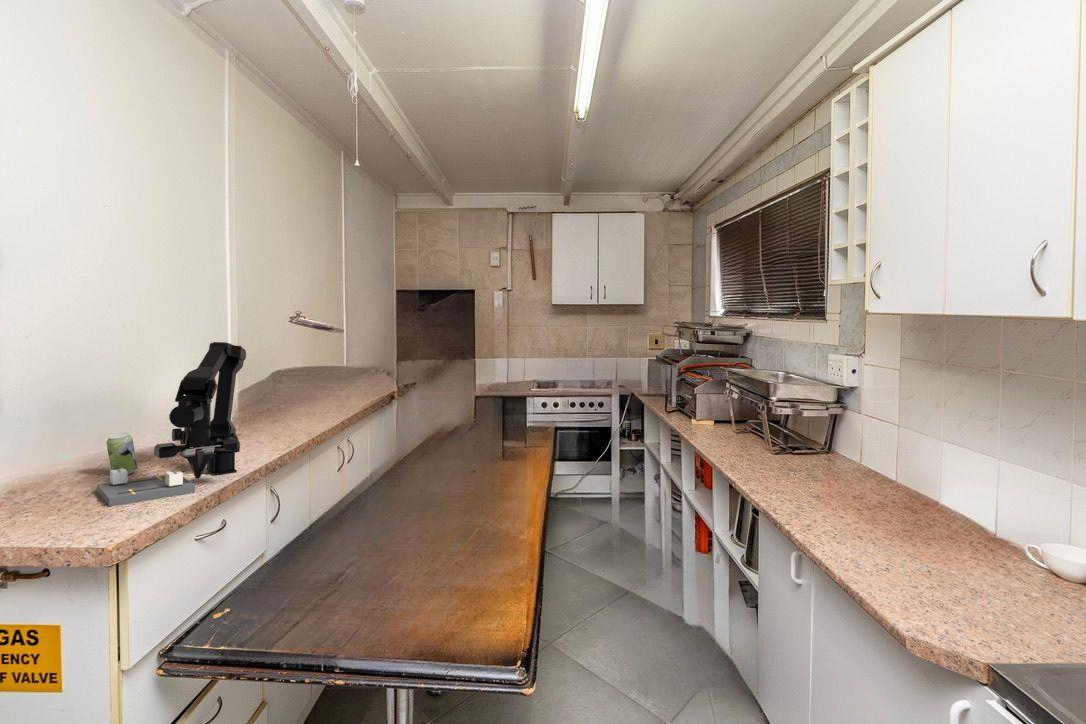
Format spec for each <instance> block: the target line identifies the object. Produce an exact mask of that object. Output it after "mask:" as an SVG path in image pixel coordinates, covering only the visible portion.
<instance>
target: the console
mask: <svg viewBox="0 0 1086 724" xmlns="http://www.w3.org/2000/svg"><path fill="white" fill-rule="evenodd" d="M195 487H196V486H195V484H194V483H192V482H191V481H190V480H188V479H186V477H184V476H183V484H181V485H175V486H168V485H167V484H166V483H165V474H163V475H162V474H161V475H155V476H147V477H139V478H133V479H127V483H122V484H115V485H113V484H112V483H111V482H110V481H109V482H104V483H97V484H96V493H98V495H99V496H100V497H101V499H103V501H104V502H105V504H107V506H108V507H110V508H111V507H115V506H121V505H128V504H135V503H139V502H145V501H153V500H158V499H163V498H164V497H165V498H170V497H169V496H171V497H175V496H174V495H177V496H181V495H180V494H183V495H187V494H186V493H189V494H192V493H191V492H195V491H196V490H195V489H196V488H195Z"/></svg>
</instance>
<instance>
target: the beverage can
mask: <svg viewBox="0 0 1086 724" xmlns="http://www.w3.org/2000/svg"><path fill="white" fill-rule="evenodd" d="M105 444H106V447H107V454H108V458H109V465H110V470H116V469H125V470H126V471H127V475H129V474H132V473H134V472H135V471H136V470H138V463H137V457H136V451H135V446H134V438H133V436H131V435H130V433H128V432H120V433H115V434H111V435H109V436H108V437H107V440H106V443H105Z"/></svg>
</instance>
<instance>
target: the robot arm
mask: <svg viewBox="0 0 1086 724" xmlns="http://www.w3.org/2000/svg"><path fill="white" fill-rule="evenodd" d="M246 351H247V350H246V349H245V348H244V347H242V345H235V344H232V343H229V342H227V341H223V342H222V341H214V342H213V341H212V342H210V343H209V347H208V350H207V352H206V354H205V355H204V357H203V359H202V360H201V362H200V363H199V365H198V366H197V367H196V368H195V369H192V370H191V371H188V372H187V374H186V375H185V376H183V378H182V379H181V380H180V383H179V387H178V391H177V393H176V396H175V399H174V402H175V403H177V404H178V405H177V406H176V407H174V408H172V409H171V411H170V413H169V417H168V418H169V421H170V423H171V424H172V426H174V427H176V428H172V429H171V440H172V442H168V443H166V442H164V443H157V444H156V445H155V446H154V447H153V455H154V456H155V457H157V458H158V459H167V458H174V457H175V456H176V455H177V454H178V453H179V456H181V457H182V458H184V459H186V461H188V463H189V465H190V467H191V471H192V473H193V475H194V478H195V479H200V478H201V477H202V474H203V472H204V470H205V468H206V472H207V473H209V474H211V475H213V476H218V475H225V474H230V473H237V472H238V470H237V469H236V467H235V465H236V453H240V450H241V442H240V440H239V437H238V434H237V433H236V431H237V429H236V427H235V425H234V423H233V422H232V414H233V404H234V395H235V388H236V381H237V380H236V379H237V374H238V373H239V372H240V370H241V369H242V368H243V366H244V361H245V360H246V358H247V352H246ZM217 375H218V378H217V381H216V376H217ZM215 394H216V395H215ZM214 397H215V400H214V401H215V403H214V410H213V418H211V415H212V413H211V411H212V410H211V408H212V405H211V403H212V402H213V401H212V400H213V399H214ZM210 419H213V420H212V421H211V422H210ZM182 429H183V430H182ZM173 442H179V443H180V445H176V444H175V443H173ZM193 447H194V448H193ZM196 450H200V451H198V455H197V454H195V451H196Z"/></svg>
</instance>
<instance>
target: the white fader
mask: <svg viewBox="0 0 1086 724" xmlns="http://www.w3.org/2000/svg"><path fill="white" fill-rule="evenodd" d="M127 480H128V474H127V471H126V470H125V469H116V470H111V469H110V470H109V482H111V483H112V484H113V485H115V484H122V483H127Z"/></svg>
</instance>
